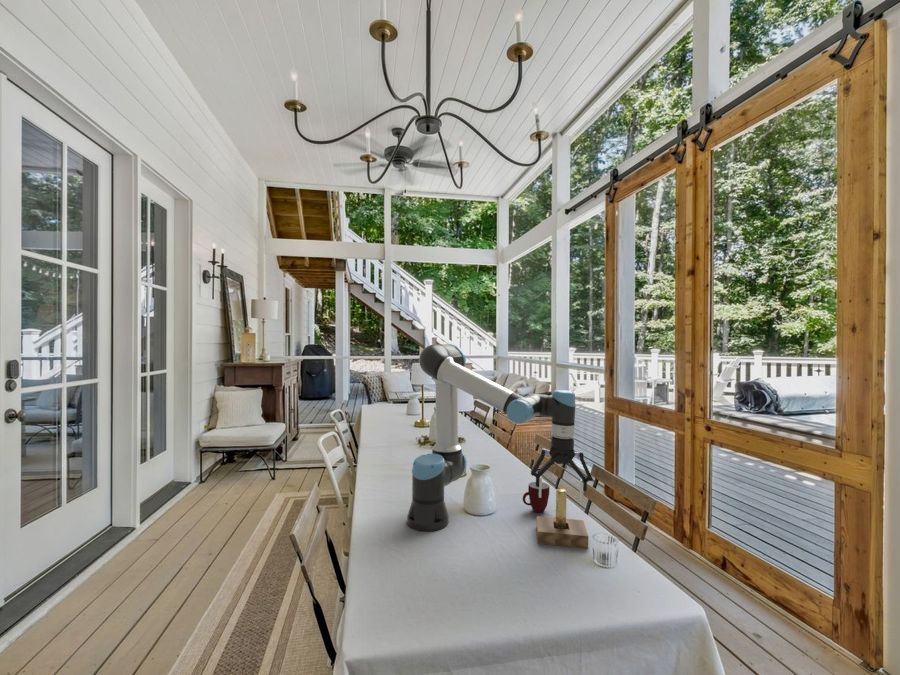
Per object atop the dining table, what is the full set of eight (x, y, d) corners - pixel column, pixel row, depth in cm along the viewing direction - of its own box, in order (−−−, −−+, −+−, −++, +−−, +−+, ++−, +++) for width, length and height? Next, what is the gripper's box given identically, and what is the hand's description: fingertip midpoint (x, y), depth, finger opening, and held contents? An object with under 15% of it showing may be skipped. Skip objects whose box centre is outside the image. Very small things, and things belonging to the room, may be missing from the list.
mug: (528, 517, 158) (529, 490, 158) (518, 508, 166) (519, 483, 166) (553, 513, 162) (553, 487, 161) (542, 505, 169) (542, 480, 169)
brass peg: (555, 539, 141) (556, 491, 141) (555, 534, 145) (555, 488, 144) (566, 540, 141) (567, 492, 141) (565, 535, 144) (566, 489, 144)
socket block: (537, 543, 138) (537, 531, 138) (536, 527, 150) (536, 516, 150) (588, 548, 135) (588, 536, 135) (583, 531, 147) (583, 520, 147)
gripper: (525, 436, 141) (523, 498, 141) (603, 441, 137) (600, 506, 137) (525, 430, 148) (523, 490, 149) (599, 436, 144) (596, 497, 144)
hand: (560, 498), depth 143 cm, fingers open, 13 cm apart
